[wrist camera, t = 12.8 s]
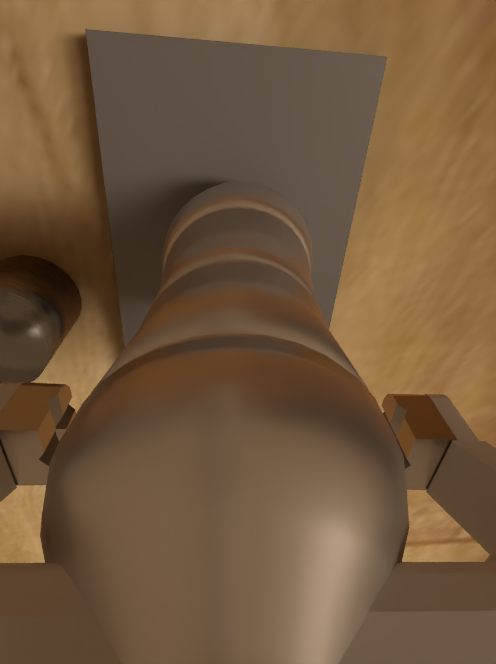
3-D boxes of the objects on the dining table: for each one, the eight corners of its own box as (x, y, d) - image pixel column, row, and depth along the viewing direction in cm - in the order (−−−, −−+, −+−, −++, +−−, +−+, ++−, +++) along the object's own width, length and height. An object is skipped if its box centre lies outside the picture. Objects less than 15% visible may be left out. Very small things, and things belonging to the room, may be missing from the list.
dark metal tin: (-18, 248, 21) (-82, 291, 17) (79, 263, 21) (41, 308, 17) (-3, 327, 23) (-55, 380, 19) (83, 338, 24) (50, 392, 20)
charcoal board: (94, 33, 16) (85, 29, 15) (378, 58, 17) (387, 56, 16) (131, 362, 25) (127, 374, 24) (314, 368, 26) (317, 380, 25)
